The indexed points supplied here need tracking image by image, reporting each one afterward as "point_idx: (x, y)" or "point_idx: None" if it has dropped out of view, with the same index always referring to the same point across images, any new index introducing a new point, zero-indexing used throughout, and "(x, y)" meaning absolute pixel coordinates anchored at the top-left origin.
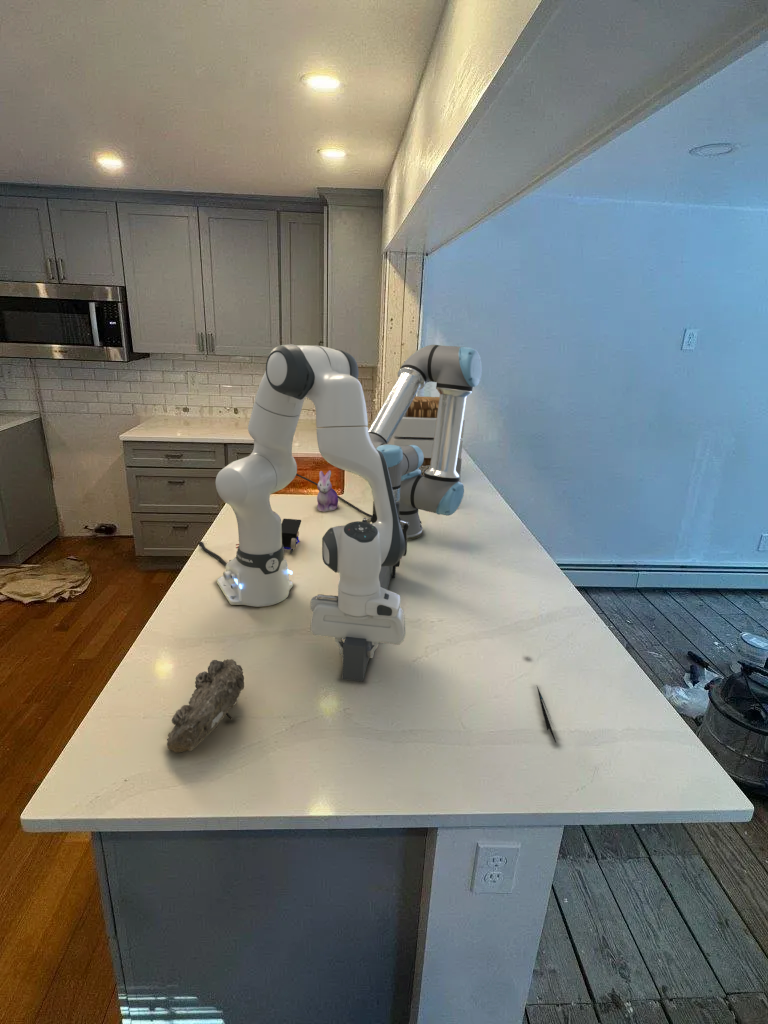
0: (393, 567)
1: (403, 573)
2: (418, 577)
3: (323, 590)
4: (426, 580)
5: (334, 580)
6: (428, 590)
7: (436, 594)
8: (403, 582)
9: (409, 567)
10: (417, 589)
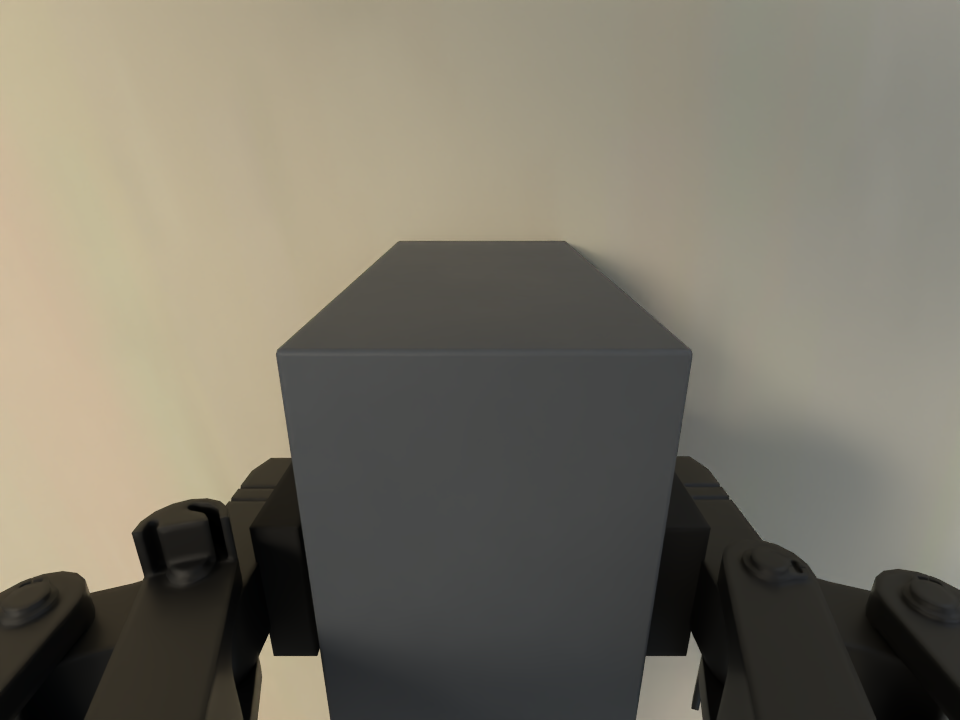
0: None
1: (691, 273)
2: (847, 334)
3: None
4: (919, 382)
5: (72, 541)
6: (891, 552)
7: None
8: None
9: (779, 82)
10: (797, 553)
